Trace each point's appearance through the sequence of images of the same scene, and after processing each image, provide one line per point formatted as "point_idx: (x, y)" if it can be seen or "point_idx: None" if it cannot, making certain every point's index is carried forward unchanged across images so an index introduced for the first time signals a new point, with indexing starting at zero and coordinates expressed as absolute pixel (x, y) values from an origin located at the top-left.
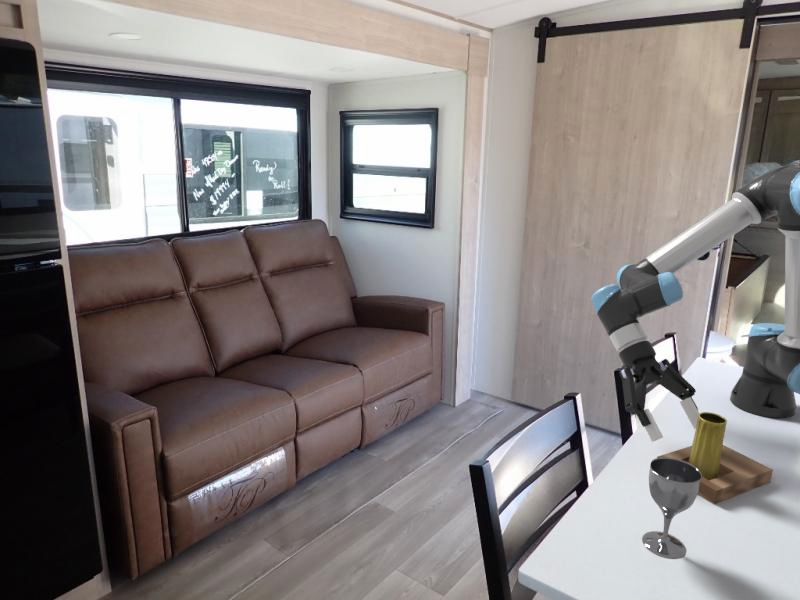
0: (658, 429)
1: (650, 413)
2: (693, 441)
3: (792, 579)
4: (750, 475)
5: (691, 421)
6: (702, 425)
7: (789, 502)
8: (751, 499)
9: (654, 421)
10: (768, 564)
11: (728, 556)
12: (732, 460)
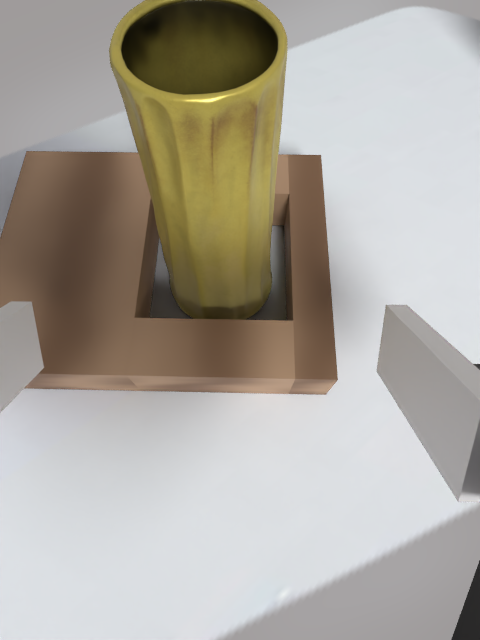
0: (410, 322)
1: (461, 379)
2: (249, 229)
3: (382, 15)
4: (131, 160)
5: (21, 382)
6: (282, 85)
7: (113, 122)
8: None
9: (432, 347)
10: (389, 44)
11: (452, 80)
12: (81, 232)
